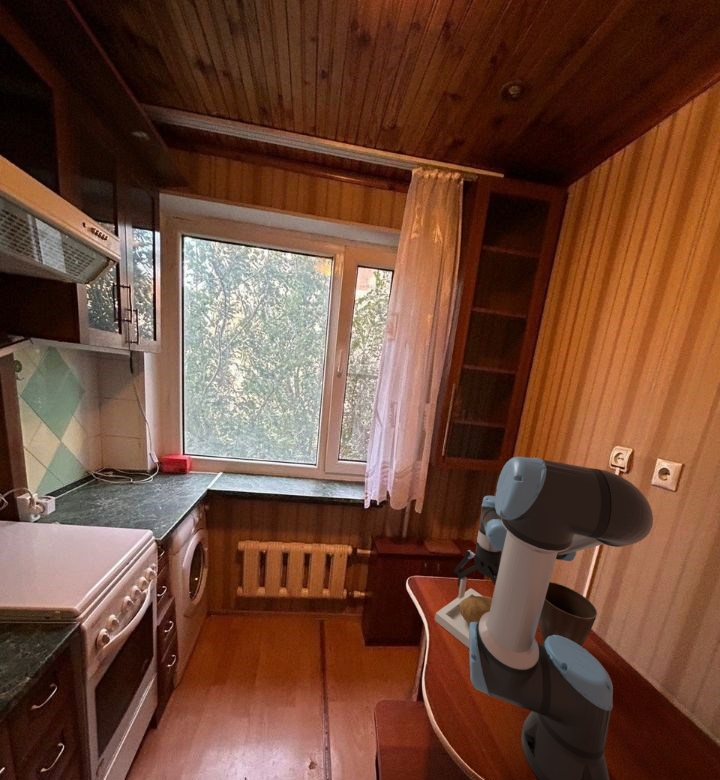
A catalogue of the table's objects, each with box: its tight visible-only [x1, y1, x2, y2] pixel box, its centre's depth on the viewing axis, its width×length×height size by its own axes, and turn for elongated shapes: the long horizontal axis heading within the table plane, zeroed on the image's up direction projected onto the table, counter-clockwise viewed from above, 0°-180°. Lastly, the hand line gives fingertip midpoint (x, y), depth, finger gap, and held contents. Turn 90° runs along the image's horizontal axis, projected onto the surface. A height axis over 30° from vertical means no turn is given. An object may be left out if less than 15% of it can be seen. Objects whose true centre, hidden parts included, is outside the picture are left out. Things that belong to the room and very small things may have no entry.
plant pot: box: [538, 581, 598, 647], centre depth 92 cm, size 15×15×16 cm
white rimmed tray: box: [434, 587, 483, 649], centre depth 98 cm, size 22×18×3 cm
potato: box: [460, 595, 493, 625], centre depth 97 cm, size 10×14×8 cm
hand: (480, 610), depth 97 cm, fingers open, 13 cm apart
